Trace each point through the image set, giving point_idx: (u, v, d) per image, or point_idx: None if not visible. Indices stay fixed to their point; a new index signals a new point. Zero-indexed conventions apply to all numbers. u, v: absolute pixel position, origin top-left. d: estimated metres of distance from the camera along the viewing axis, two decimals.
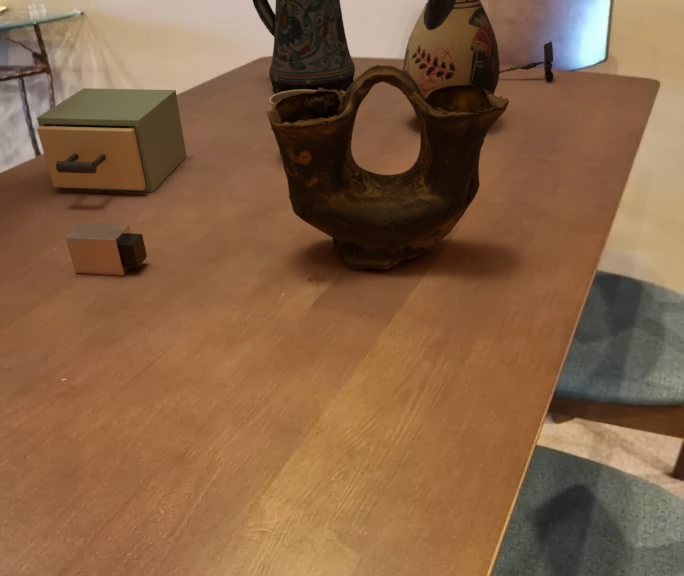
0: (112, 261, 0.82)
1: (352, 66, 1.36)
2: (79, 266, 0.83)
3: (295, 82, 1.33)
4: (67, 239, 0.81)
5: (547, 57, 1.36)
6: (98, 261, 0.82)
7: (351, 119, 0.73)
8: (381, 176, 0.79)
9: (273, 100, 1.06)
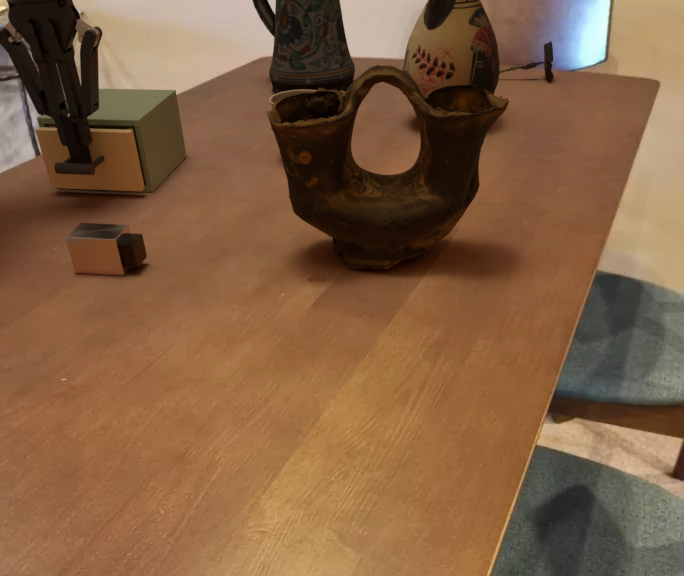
0: (112, 261, 0.82)
1: (352, 66, 1.36)
2: (79, 266, 0.83)
3: (295, 82, 1.33)
4: (67, 239, 0.81)
5: (547, 57, 1.36)
6: (98, 261, 0.82)
7: (351, 119, 0.73)
8: (381, 176, 0.79)
9: (273, 100, 1.06)
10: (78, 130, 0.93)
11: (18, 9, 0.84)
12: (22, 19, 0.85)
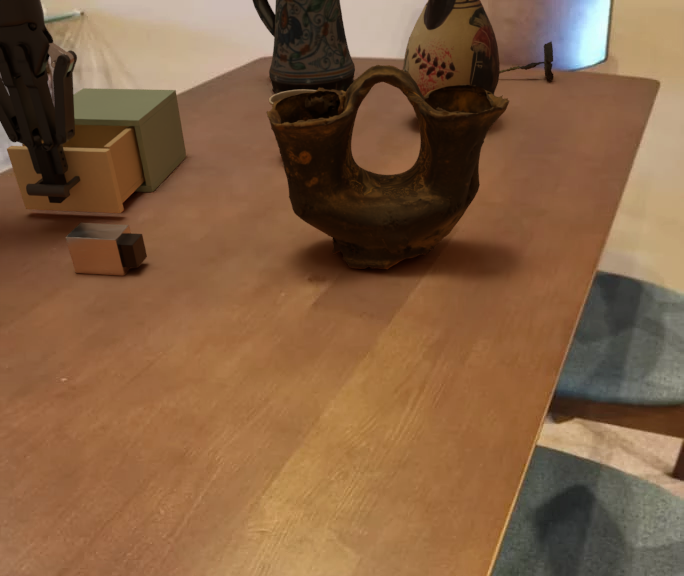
0: (112, 261, 0.82)
1: (352, 66, 1.36)
2: (79, 266, 0.83)
3: (295, 82, 1.33)
4: (67, 239, 0.81)
5: (547, 57, 1.36)
6: (98, 261, 0.82)
7: (351, 119, 0.73)
8: (381, 176, 0.79)
9: (273, 100, 1.06)
10: (53, 158, 0.88)
11: None
12: None
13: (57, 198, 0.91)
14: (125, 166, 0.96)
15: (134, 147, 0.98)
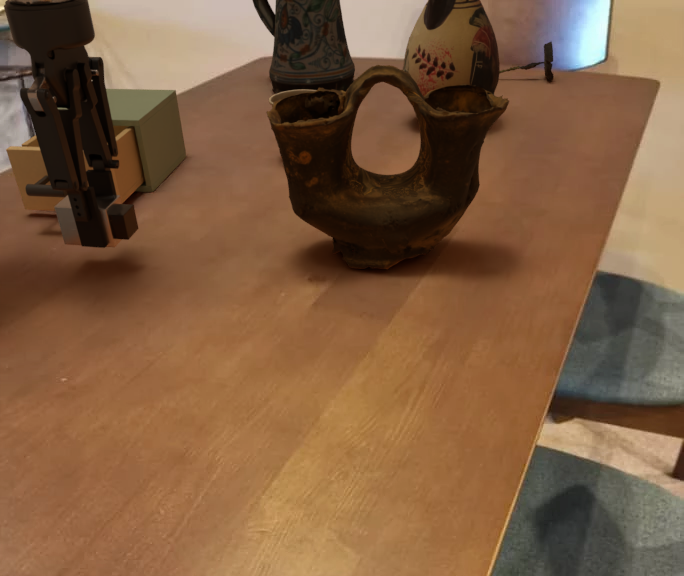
0: None
1: (352, 66, 1.36)
2: (68, 237, 0.81)
3: (295, 82, 1.33)
4: (56, 209, 0.79)
5: (547, 57, 1.36)
6: None
7: (351, 119, 0.73)
8: (381, 176, 0.79)
9: (273, 100, 1.06)
10: None
11: None
12: None
13: None
14: (125, 166, 0.96)
15: (134, 148, 0.98)
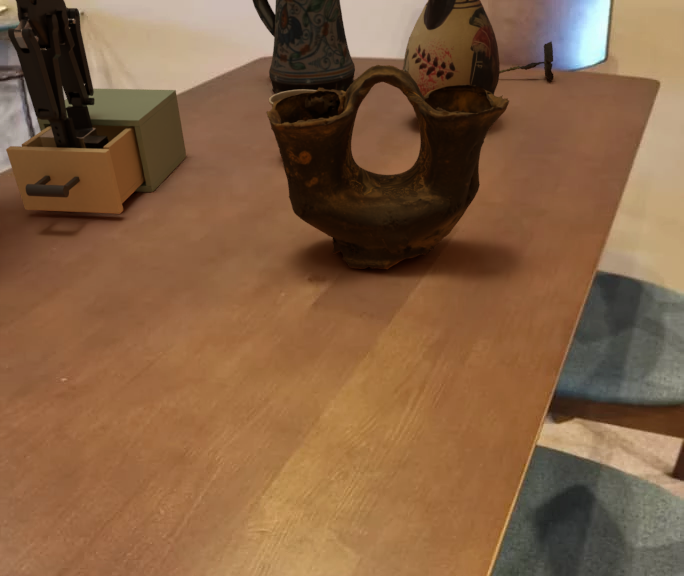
0: None
1: (352, 66, 1.36)
2: None
3: (295, 82, 1.33)
4: (41, 138, 0.93)
5: (547, 57, 1.36)
6: None
7: (351, 119, 0.73)
8: (381, 176, 0.79)
9: (273, 100, 1.06)
10: None
11: None
12: None
13: None
14: (125, 166, 0.96)
15: (134, 148, 0.98)
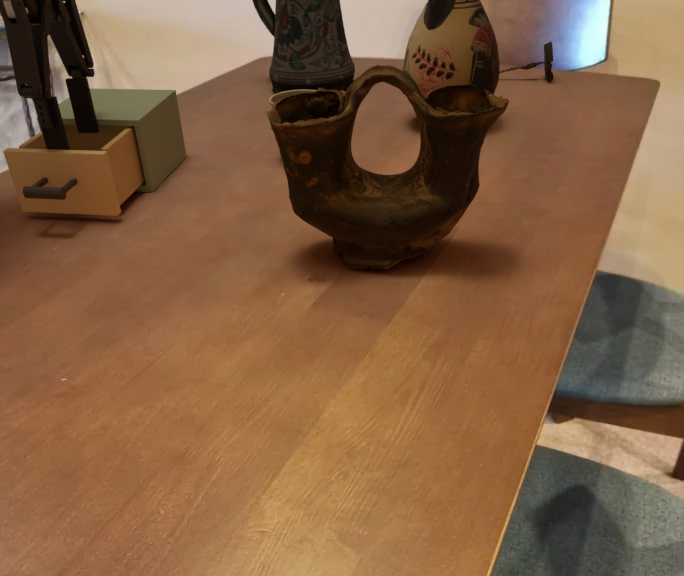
0: None
1: (352, 66, 1.36)
2: None
3: (295, 82, 1.33)
4: None
5: (547, 57, 1.36)
6: None
7: (351, 119, 0.73)
8: (381, 176, 0.79)
9: (273, 100, 1.06)
10: None
11: None
12: None
13: (47, 148, 0.91)
14: (122, 168, 0.95)
15: (132, 149, 0.97)
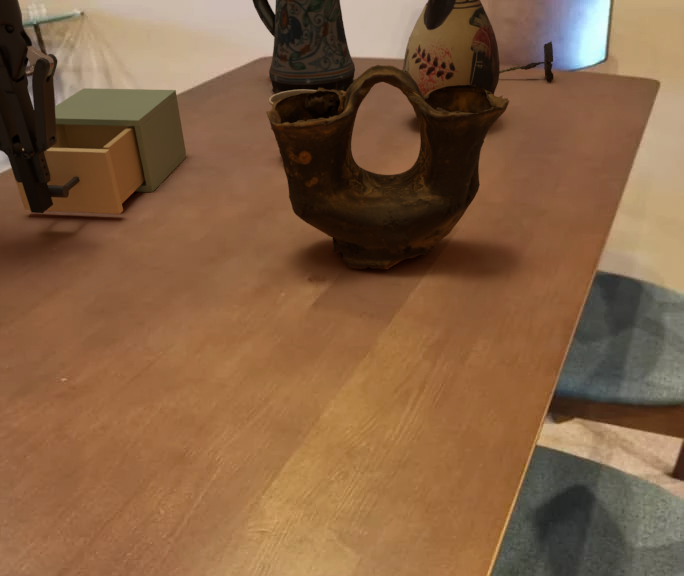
0: None
1: (352, 66, 1.36)
2: None
3: (295, 82, 1.33)
4: None
5: (547, 57, 1.36)
6: None
7: (351, 119, 0.73)
8: (381, 176, 0.79)
9: (273, 100, 1.06)
10: (34, 166, 0.84)
11: None
12: None
13: (39, 208, 0.87)
14: (124, 167, 0.96)
15: (133, 148, 0.98)
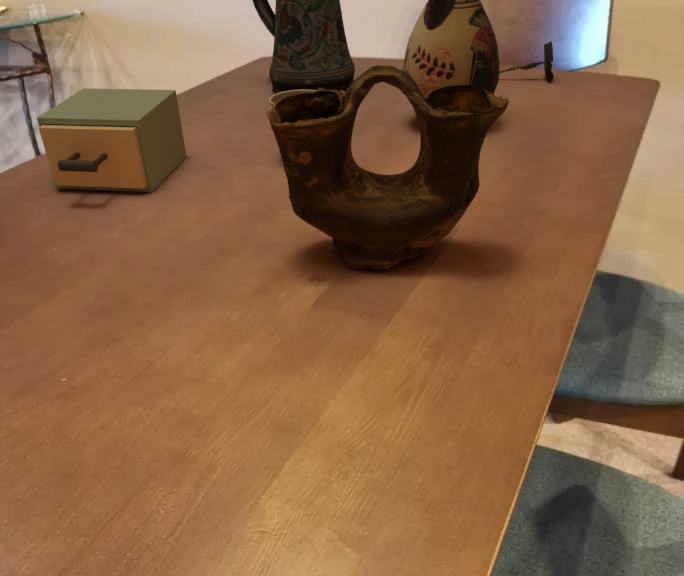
0: None
1: (352, 66, 1.36)
2: None
3: (295, 82, 1.33)
4: None
5: (547, 57, 1.36)
6: None
7: (351, 119, 0.73)
8: (381, 176, 0.79)
9: (273, 100, 1.06)
10: None
11: None
12: None
13: None
14: None
15: None
